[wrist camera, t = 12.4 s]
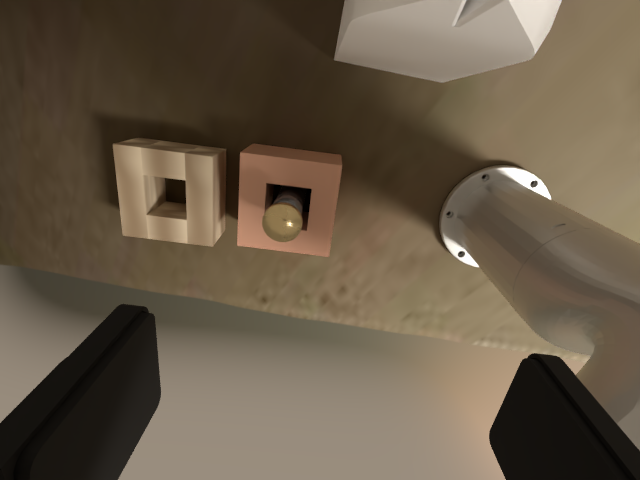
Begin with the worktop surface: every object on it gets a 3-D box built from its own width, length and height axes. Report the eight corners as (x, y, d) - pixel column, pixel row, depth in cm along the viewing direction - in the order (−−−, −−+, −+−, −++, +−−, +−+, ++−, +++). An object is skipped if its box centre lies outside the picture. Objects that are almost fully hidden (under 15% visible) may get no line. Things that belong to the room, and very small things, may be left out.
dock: (341, 154, 40) (342, 165, 34) (329, 235, 44) (328, 256, 38) (253, 143, 39) (240, 152, 34) (249, 225, 43) (237, 245, 38)
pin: (310, 179, 41) (303, 207, 31) (307, 208, 42) (299, 244, 32) (280, 175, 41) (263, 202, 31) (277, 204, 42) (260, 239, 32)
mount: (226, 148, 40) (212, 156, 35) (225, 230, 44) (212, 246, 39) (138, 137, 39) (112, 143, 35) (144, 219, 43) (122, 235, 39)
